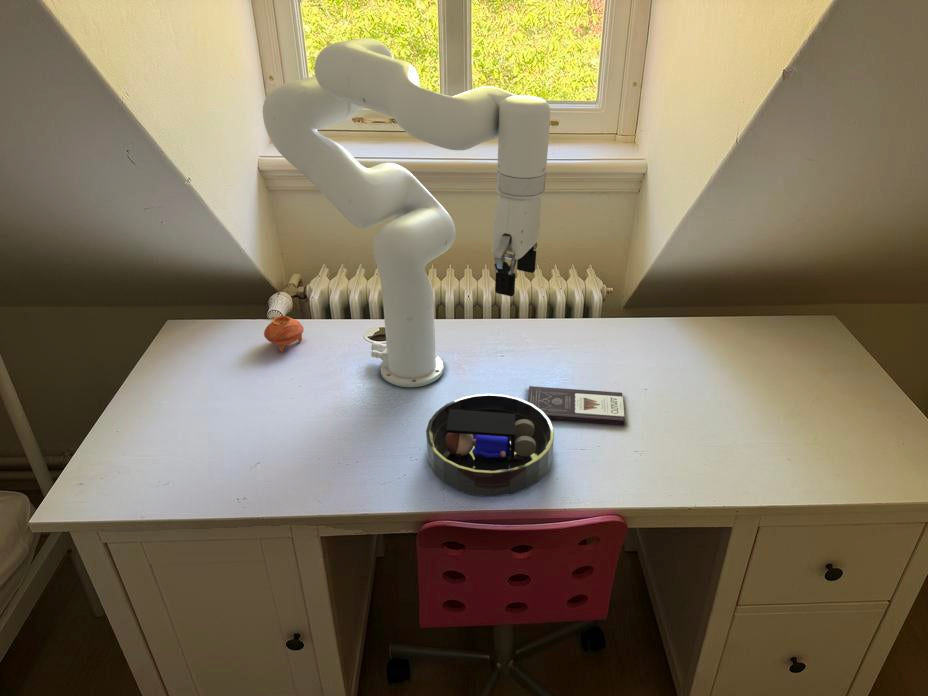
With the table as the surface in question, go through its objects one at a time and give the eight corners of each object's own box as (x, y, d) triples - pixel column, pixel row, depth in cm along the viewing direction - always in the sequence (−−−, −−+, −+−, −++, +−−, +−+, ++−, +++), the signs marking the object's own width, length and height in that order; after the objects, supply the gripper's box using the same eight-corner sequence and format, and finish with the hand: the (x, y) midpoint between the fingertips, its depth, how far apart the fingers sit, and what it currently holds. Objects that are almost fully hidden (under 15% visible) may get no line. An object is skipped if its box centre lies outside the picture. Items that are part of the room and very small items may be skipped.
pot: (304, 353, 143) (292, 325, 139) (269, 360, 144) (255, 333, 140) (312, 332, 149) (300, 306, 145) (278, 339, 150) (265, 313, 146)
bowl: (406, 479, 113) (404, 453, 110) (457, 408, 129) (456, 383, 126) (529, 513, 107) (531, 486, 104) (566, 434, 124) (568, 409, 121)
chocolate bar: (529, 386, 134) (622, 392, 133) (529, 390, 135) (621, 396, 134) (526, 413, 127) (624, 420, 126) (526, 417, 127) (624, 424, 126)
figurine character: (530, 447, 122) (445, 438, 120) (537, 413, 117) (449, 403, 116) (531, 473, 116) (442, 464, 115) (538, 438, 112) (446, 428, 110)
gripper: (518, 163, 115) (513, 258, 125) (476, 195, 101) (474, 299, 111) (561, 171, 113) (552, 267, 122) (523, 204, 99) (517, 309, 109)
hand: (515, 282), depth 117 cm, fingers open, 9 cm apart
